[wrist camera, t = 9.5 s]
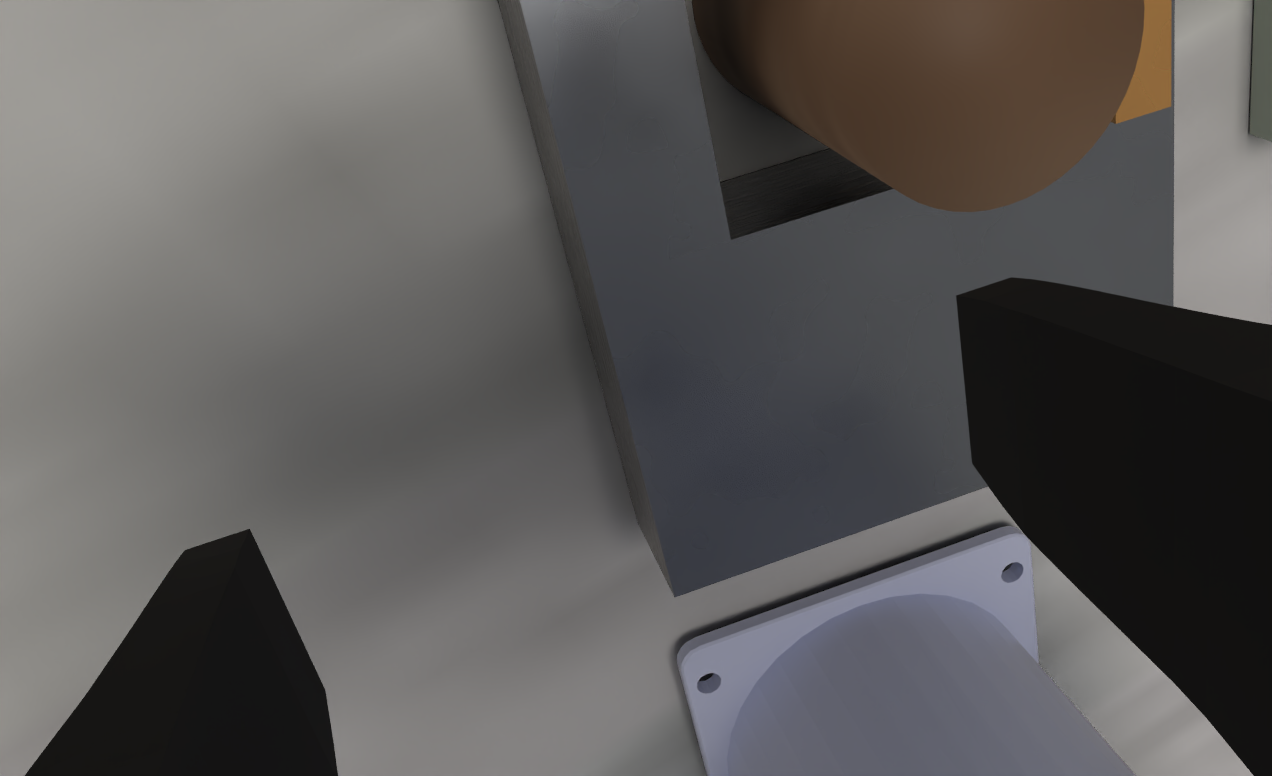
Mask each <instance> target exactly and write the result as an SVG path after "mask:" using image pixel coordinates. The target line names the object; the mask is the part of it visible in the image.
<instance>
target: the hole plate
mask: <svg viewBox="0 0 1272 776" xmlns="http://www.w3.org/2000/svg"><path fill="white" fill-rule="evenodd" d="M498 3H499V7H500V10H501V14H502V18H503V22H504V25H505V29H506V33H507V36H508V40H509V44H510V48H511V51H512V55H513V59H514V63H515V66H516V70H517V74H518V77H519V81H520V85H521V89H522V92H523V96H524V100H525V104H526V107H527V111H528V115H529V118H530V122H531V126H532V130H533V133H534V137H535V141H536V145H537V148H538V152H539V156H540V159H541V163H542V167H543V171H544V174H545V178H546V182H547V186H548V189H549V193H550V197H551V200H552V204H553V208H554V212H555V215H556V219H557V223H558V227H559V230H560V234H561V238H562V241H563V245H564V249H565V253H566V256H567V260H568V264H569V268H570V271H571V275H572V279H573V283H574V286H575V290H576V294H577V297H578V301H579V305H580V309H581V312H582V316H583V320H584V324H585V327H586V331H587V335H588V338H589V342H590V346H591V350H592V353H593V357H594V361H595V365H596V368H597V372H598V376H599V379H600V383H601V387H602V391H603V394H604V398H605V402H606V406H607V409H608V413H609V417H610V420H611V424H612V428H613V432H614V435H615V439H616V443H617V447H618V450H619V454H620V458H621V461H622V465H623V469H624V473H625V476H626V480H627V484H628V488H629V491H630V495H631V499H632V502H633V506H634V510H635V514H636V517H637V521H638V524H639V526H640V528H641V530H642V532H643V534H644V536H645V538H646V540H647V542H648V544H649V546H650V548H651V551H652V553H653V555H654V557H655V559H656V561H657V563H658V565H659V567H660V569H661V571H662V573H663V575H664V577H665V579H666V581H667V583H668V585H669V587H670V589H671V591H672V593H673V595H674V597H677V596H680V595H683V594H685V593H688V592H691V591H694V590H697V589H700V588H702V587H705V586H708V585H711V584H714V583H717V582H719V581H722V580H725V579H728V578H731V577H733V576H736V575H739V574H742V573H745V572H748V571H750V570H753V569H756V568H759V567H762V566H765V565H767V564H770V563H773V562H776V561H779V560H781V559H784V558H787V557H790V556H793V555H796V554H798V553H801V552H804V551H807V550H810V549H813V548H815V547H818V546H821V545H824V544H827V543H829V542H832V541H835V540H838V539H841V538H844V537H846V536H849V535H852V534H855V533H858V532H861V531H863V530H866V529H869V528H872V527H875V526H877V525H880V524H883V523H886V522H889V521H892V520H894V519H897V518H900V517H903V516H906V515H909V514H911V513H914V512H917V511H920V510H923V509H925V508H928V507H931V506H934V505H937V504H940V503H942V502H945V501H948V500H951V499H954V498H957V497H959V496H962V495H965V494H968V493H971V492H974V491H976V490H979V489H982V488H985V487H988V485H987V484H986V482H985V481H984V480H983V478H982V477H981V475H980V474H979V473H978V471H977V470H976V468H975V467H974V466H973V464H972V458H971V448H970V437H969V427H968V416H967V406H966V395H965V385H964V374H963V364H962V353H961V343H960V332H959V322H958V311H957V301H956V295H959V294H962V293H965V292H968V291H971V290H974V289H977V288H980V287H983V286H986V285H989V284H992V283H995V282H998V281H1002V280H1005V279H1008V278H1011V277H1014V278H1025V279H1034V280H1041V281H1048V282H1054V283H1060V284H1065V285H1070V286H1076V287H1081V288H1086V289H1091V290H1096V291H1101V292H1106V293H1110V294H1115V295H1120V296H1125V297H1129V298H1134V299H1139V300H1144V301H1149V302H1153V303H1158V304H1163V305H1168V306H1173V246H1174V5H1175V0H1144V7H1145V9H1144V29H1143V36H1142V42H1141V48H1140V53H1139V57H1138V60H1137V64H1136V68H1135V72H1134V74H1133V77H1132V80H1131V82H1130V85H1129V87H1128V90H1127V93H1126V95H1125V97H1124V99H1123V101H1122V103H1121V105H1120V107H1119V109H1118V111H1117V113H1116V114H1115V116H1114V117H1113V119H1112V121H1111V122H1110V124H1109V125H1108V127H1107V129H1106V130H1105V132H1104V133H1103V134H1102V135H1101V137H1100V138H1099V139H1098V141H1097V142H1096V143H1095V144H1094V146H1093V147H1092V148H1091V149H1090V150H1089V151H1088V152H1087V153H1086V155H1085V156H1084V157H1083V158H1082V159H1081V160H1080V161H1079V162H1078V163H1077V164H1076V165H1075V166H1073V167H1072V168H1071V169H1070V170H1069V171H1068V172H1066V173H1065V174H1064V175H1063V176H1062V177H1060V178H1059V179H1058V180H1056V181H1055V182H1053V183H1052V184H1050V185H1049V186H1047V187H1046V188H1044V189H1043V190H1041V191H1039V192H1037V193H1035V194H1033V195H1031V196H1030V197H1028V198H1026V199H1023V200H1020V201H1018V202H1015V203H1013V204H1010V205H1007V206H1003V207H999V208H996V209H992V210H985V211H977V212H953V211H947V210H941V209H936V208H933V207H929V206H926V205H923V204H920V203H918V202H916V201H914V200H912V199H910V198H909V197H907V196H905V195H903V194H901V193H900V192H898V191H897V190H895V189H893V188H892V187H890V186H889V185H887V184H886V183H884V182H882V181H881V180H879V179H878V178H876V177H875V176H873V175H871V174H870V173H868V172H867V171H865V170H864V169H862V168H860V167H859V166H857V165H856V164H854V163H853V162H851V161H849V160H848V159H846V158H845V157H843V156H842V155H840V154H838V153H837V152H835V151H834V150H832V149H828V150H824V151H821V152H818V153H815V154H811V155H808V156H805V157H802V158H798V159H795V160H792V161H789V162H785V163H782V164H779V165H776V166H772V167H769V168H766V169H763V170H759V171H756V172H753V173H750V174H746V175H743V176H740V177H737V178H733V179H730V180H727V181H724V182H720V181H719V176H718V171H717V165H716V160H715V155H714V150H713V145H712V139H711V134H710V129H709V124H708V119H707V114H706V108H705V103H704V98H703V93H702V88H701V83H700V77H699V72H698V67H697V62H696V57H695V51H694V46H693V41H692V36H691V31H690V26H689V20H688V15H687V10H686V5H685V0H498Z"/></svg>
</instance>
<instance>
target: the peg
mask: <svg viewBox="0 0 1272 776" xmlns="http://www.w3.org/2000/svg"><path fill="white" fill-rule="evenodd" d="M692 5H693V13H694V20H695V23H696V27H697V31H698V35H699V37H700V40H701V42H702V45H703V47H704V49H705V51H706V53H707V55H708V57H709V58H710V60H711V62H712V63H713V65H714V66H715V67H716V68H717V70H718V71H719V72H720V74H721V75H722V76H723V77H724V78H725V79H726V80H727V81H728V82H729V83H730V84H731V85H733V86H734V87H736V88H737V89H738V90H740V91H741V92H742V93H744V94H746V95H747V96H749V97H750V98H752V99H753V100H755V101H757V102H758V103H760V104H761V105H763V106H764V107H766V108H768V109H769V110H771V111H772V112H774V113H775V114H777V115H779V116H780V117H782V118H783V119H785V120H786V121H788V122H790V123H791V124H793V125H794V126H796V127H797V128H799V129H801V130H802V131H804V132H805V133H807V134H808V135H810V136H812V137H813V138H815V139H816V140H818V141H820V142H821V143H823V144H824V145H826V146H827V147H829V148H831V149H832V150H834V151H835V152H837V153H838V154H840V155H842V156H843V157H845V158H846V159H848V160H849V161H851V162H853V163H854V164H856V165H857V166H859V167H860V168H862V169H864V170H865V171H867V172H868V173H870V174H871V175H873V176H875V177H876V178H878V179H879V180H881V181H882V182H884V183H886V184H887V185H889V186H890V187H892V188H893V189H895V190H897V191H898V192H900V193H901V194H903V195H905V196H907V197H909V198H910V199H912V200H914V201H916V202H918V203H920V204H923V205H926V206H929V207H933V208H936V209H941V210H947V211H953V212H977V211H985V210H992V209H996V208H999V207H1003V206H1007V205H1010V204H1013V203H1015V202H1018V201H1020V200H1023V199H1026V198H1028V197H1030V196H1031V195H1033V194H1035V193H1037V192H1039V191H1041V190H1043V189H1044V188H1046V187H1047V186H1049V185H1050V184H1052V183H1053V182H1055V181H1056V180H1058V179H1059V178H1060V177H1062V176H1063V175H1064V174H1065V173H1066V172H1068V171H1069V170H1070V169H1071V168H1072V167H1073V166H1075V165H1076V164H1077V163H1078V162H1079V161H1080V160H1081V159H1082V158H1083V157H1084V156H1085V155H1086V153H1087V152H1088V151H1089V150H1090V149H1091V148H1092V147H1093V146H1094V144H1095V143H1096V142H1097V141H1098V139H1099V138H1100V137H1101V135H1102V134H1103V133H1104V132H1105V130H1106V129H1107V127H1108V125H1109V124H1110V122H1111V121H1112V119H1113V117H1114V116H1115V114H1116V113H1117V111H1118V109H1119V107H1120V105H1121V103H1122V101H1123V99H1124V97H1125V95H1126V93H1127V90H1128V87H1129V85H1130V82H1131V80H1132V77H1133V74H1134V72H1135V68H1136V64H1137V60H1138V57H1139V53H1140V48H1141V42H1142V36H1143V29H1144V9H1145V7H1144V0H692Z"/></svg>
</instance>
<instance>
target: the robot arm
mask: <svg viewBox="0 0 1272 776" xmlns="http://www.w3.org/2000/svg"><path fill="white" fill-rule="evenodd" d="M956 301H957V311H958V322H959V332H960V343H961V353H962V364H963V374H964V385H965V395H966V406H967V416H968V427H969V437H970V448H971V458H972V464H973V466H974V467H975V468H976V470H977V471H978V473H979V474H980V475H981V477H982V478H983V480H984V481H985V482H986V484H987V485H988V487H989V488H990V489H991V491H992V492H993V493H994V495H995V496H996V498H997V499H998V500H999V502H1000V503H1001V505H1002V506H1003V507H1004V508H1005V510H1006V511H1007V512H1008V514H1009V515H1010V516H1011V517H1012V519H1013V520H1014V521H1015V523H1016V524H1017V525H1018V526H1019V528H1020V529H1021V530H1022V532H1023V533H1024V534H1025V535H1026V536H1027V537H1028V538H1029V539H1030V540H1031V541H1032V543H1033V544H1034V545H1035V546H1036V547H1037V548H1038V549H1039V550H1040V551H1041V552H1042V553H1043V554H1044V555H1045V556H1046V557H1047V558H1048V559H1049V560H1050V561H1051V562H1052V563H1053V564H1054V565H1055V566H1056V567H1057V568H1058V569H1059V570H1060V571H1061V572H1062V573H1063V574H1064V575H1065V576H1066V577H1067V578H1068V579H1069V580H1070V581H1071V582H1072V583H1073V584H1074V585H1075V586H1076V587H1077V588H1078V589H1079V590H1080V591H1081V592H1082V593H1083V594H1084V595H1085V596H1086V597H1087V598H1088V599H1089V600H1090V601H1091V602H1092V603H1093V604H1094V605H1095V606H1096V607H1097V608H1098V609H1099V610H1100V611H1101V612H1102V613H1103V614H1105V615H1106V616H1107V617H1108V618H1109V619H1110V620H1111V621H1112V622H1113V623H1114V624H1115V625H1116V626H1117V627H1118V628H1119V629H1120V630H1121V631H1122V632H1123V633H1124V634H1125V635H1126V636H1127V637H1128V638H1129V639H1130V640H1131V641H1132V642H1133V643H1134V644H1135V645H1136V646H1137V647H1138V648H1139V649H1140V650H1141V651H1142V652H1143V653H1144V654H1145V655H1146V656H1147V657H1148V658H1149V659H1150V660H1151V661H1152V662H1153V663H1154V664H1155V665H1156V666H1157V667H1158V668H1159V669H1160V670H1161V671H1162V672H1163V673H1164V674H1166V675H1167V676H1168V677H1169V678H1170V679H1171V680H1172V681H1173V682H1174V683H1175V685H1176V686H1177V687H1178V688H1179V689H1180V690H1181V691H1182V692H1183V693H1184V694H1185V695H1186V696H1187V697H1188V699H1189V700H1190V701H1191V702H1192V703H1193V704H1194V705H1195V706H1196V707H1197V708H1198V709H1199V710H1200V711H1201V712H1202V714H1203V715H1204V716H1205V717H1206V718H1207V719H1208V720H1209V722H1210V723H1211V724H1212V725H1213V726H1214V728H1215V729H1216V730H1217V731H1218V733H1219V734H1220V735H1221V736H1222V737H1223V739H1224V740H1225V741H1226V742H1227V744H1228V745H1229V746H1230V747H1231V748H1232V750H1233V751H1234V752H1235V753H1236V755H1237V756H1238V757H1239V758H1240V759H1241V761H1242V762H1243V763H1244V764H1245V766H1246V767H1247V768H1248V769H1249V770H1250V772H1251V773H1252V774H1253V775H1254V776H1272V325H1268V324H1262V323H1256V322H1251V321H1245V320H1240V319H1234V318H1229V317H1223V316H1218V315H1213V314H1208V313H1203V312H1197V311H1192V310H1187V309H1183V308H1178V307H1173V306H1168V305H1163V304H1158V303H1153V302H1149V301H1144V300H1139V299H1134V298H1129V297H1125V296H1120V295H1115V294H1110V293H1106V292H1101V291H1096V290H1091V289H1086V288H1081V287H1076V286H1070V285H1065V284H1060V283H1054V282H1048V281H1041V280H1034V279H1025V278H1014V277H1011V278H1008V279H1005V280H1002V281H998V282H995V283H992V284H989V285H986V286H983V287H980V288H977V289H974V290H971V291H968V292H965V293H962V294H959V295H956ZM1022 532H1021V531H1020V530H1019V529H1018V528H1016V527H1012V526H1005V527H1000V528H997V529H995V530H992V531H989V532H986V533H983V534H981V535H978V536H975V537H972V538H970V539H967V540H964V541H961V542H958V543H956V544H953V545H950V546H947V547H945V548H942V549H939V550H936V551H933V552H931V553H928V554H925V555H922V556H919V557H917V558H914V559H911V560H908V561H906V562H903V563H900V564H897V565H894V566H892V567H889V568H886V569H883V570H881V571H878V572H875V573H872V574H869V575H867V576H864V577H861V578H858V579H856V580H853V581H850V582H847V583H844V584H842V585H839V586H836V587H833V588H830V589H828V590H825V591H822V592H819V593H817V594H814V595H811V596H808V597H805V598H803V599H800V600H797V601H794V602H792V603H789V604H786V605H783V606H780V607H778V608H775V609H772V610H769V611H767V612H764V613H761V614H758V615H755V616H753V617H750V618H747V619H744V620H741V621H739V622H736V623H733V624H730V625H728V626H725V627H722V628H719V629H716V630H714V631H711V632H708V633H705V634H703V635H700V636H697V637H694V638H693V639H691V640H689V641H687V642H686V643H685V644H684V645H683V646H682V647H681V648H680V650H679V652H678V655H677V665H678V669H679V672H680V676H681V680H682V684H683V687H684V691H685V695H686V699H687V702H688V706H689V710H690V714H691V717H692V721H693V725H694V729H695V732H696V736H697V740H698V744H699V747H700V751H701V755H702V758H703V762H704V766H705V770H706V773H707V776H1136V775H1135V774H1134V773H1133V771H1132V770H1131V769H1130V768H1129V767H1128V766H1127V765H1126V763H1125V762H1124V761H1123V760H1122V759H1121V758H1120V757H1119V755H1118V754H1117V753H1116V752H1115V751H1114V750H1113V749H1112V747H1111V746H1110V745H1109V744H1108V743H1107V742H1106V741H1105V739H1104V738H1103V737H1102V736H1101V735H1100V734H1099V733H1098V731H1097V730H1096V729H1095V728H1094V727H1093V726H1092V725H1091V723H1090V722H1089V721H1088V720H1087V719H1086V718H1085V717H1084V715H1083V714H1082V713H1081V712H1080V711H1079V710H1078V709H1077V708H1076V706H1075V705H1074V704H1073V703H1072V702H1071V701H1070V700H1069V698H1068V697H1067V696H1066V695H1065V694H1064V693H1063V692H1062V690H1061V689H1060V688H1059V687H1058V686H1057V685H1056V684H1055V682H1054V681H1053V680H1052V679H1051V678H1050V677H1049V676H1048V674H1047V673H1046V672H1045V671H1044V670H1043V669H1042V668H1041V666H1040V665H1039V658H1038V643H1037V629H1036V614H1035V600H1034V585H1033V570H1032V556H1031V545H1030V542H1029V539H1028V538H1027V537H1026V536H1025V535H1024V534H1023V533H1022ZM1011 563H1013V564H1012V565H1011V567H1010V568H1009V569H1007V570H1006V571H1004V572H1002V571H1003V570H1004V568H1005V567H1006V566H1007V565H1009V564H1011ZM709 673H714V674H713V675H712V677H711V678H709V679H707V680H706V681H699V680H700V678H701V677H702V676H704V675H706V674H709ZM25 776H338V773H337V766H336V758H335V751H334V743H333V737H332V730H331V724H330V717H329V711H328V705H327V698H326V692H325V689H324V687H323V684H322V682H321V680H320V678H319V676H318V674H317V672H316V669H315V667H314V665H313V663H312V661H311V659H310V657H309V654H308V652H307V650H306V648H305V646H304V644H303V642H302V640H301V637H300V635H299V633H298V631H297V629H296V627H295V625H294V622H293V620H292V618H291V616H290V614H289V612H288V610H287V607H286V605H285V603H284V601H283V599H282V597H281V595H280V592H279V590H278V588H277V586H276V584H275V582H274V580H273V577H272V575H271V573H270V571H269V569H268V567H267V565H266V563H265V560H264V558H263V556H262V554H261V552H260V550H259V548H258V545H257V543H256V541H255V539H254V537H253V535H252V533H251V530H250V529H248V530H245V531H242V532H239V533H236V534H233V535H230V536H227V537H224V538H221V539H217V540H214V541H211V542H208V543H205V544H202V545H199V546H196V547H193V548H190V549H187V550H185V551H184V552H183V553H182V555H181V556H180V557H179V559H178V560H177V561H176V563H175V564H174V565H173V567H172V568H171V570H170V571H169V573H168V574H167V575H166V577H165V578H164V580H163V581H162V583H161V584H160V586H159V587H158V589H157V590H156V592H155V593H154V595H153V596H152V598H151V599H150V601H149V602H148V604H147V605H146V607H145V608H144V610H143V611H142V613H141V615H140V616H139V618H138V619H137V621H136V622H135V624H134V625H133V627H132V628H131V630H130V631H129V633H128V634H127V636H126V637H125V638H124V640H123V641H122V643H121V644H120V646H119V647H118V649H117V650H116V652H115V653H114V655H113V656H112V657H111V659H110V660H109V662H108V663H107V665H106V666H105V668H104V669H103V671H102V672H101V674H100V675H99V677H98V678H97V679H96V681H95V682H94V684H93V685H92V687H91V688H90V690H89V691H88V692H87V694H86V695H85V697H84V698H83V699H82V701H81V702H80V703H79V705H78V706H77V707H76V709H75V710H74V711H73V713H72V714H71V715H70V717H69V718H68V719H67V721H66V722H65V723H64V724H63V726H62V727H61V728H60V730H59V731H58V732H57V734H56V735H55V736H54V738H53V739H52V740H51V742H50V743H49V744H48V746H47V747H46V748H45V750H44V751H43V752H42V753H41V755H40V756H39V757H38V759H37V760H36V761H35V763H34V764H33V765H32V767H31V768H30V769H29V771H28V772H27V773H26V775H25Z"/></svg>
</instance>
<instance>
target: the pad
mask: <svg viewBox="0 0 1272 776" xmlns="http://www.w3.org/2000/svg"><path fill="white" fill-rule="evenodd" d="M1250 134H1251V135H1254V136H1257V137H1260V138H1263V139H1266V140H1269V141H1271V142H1272V0H1254V24H1253V52H1252V79H1251V107H1250Z"/></svg>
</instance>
